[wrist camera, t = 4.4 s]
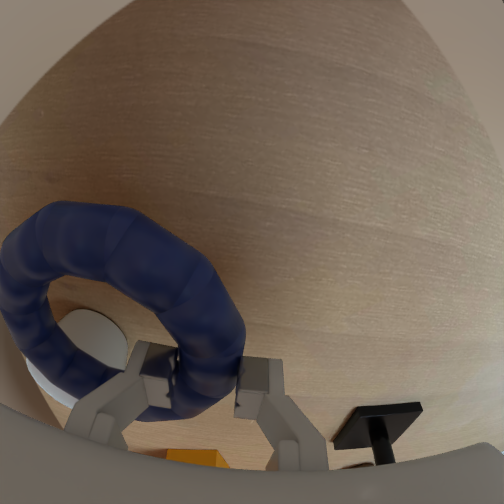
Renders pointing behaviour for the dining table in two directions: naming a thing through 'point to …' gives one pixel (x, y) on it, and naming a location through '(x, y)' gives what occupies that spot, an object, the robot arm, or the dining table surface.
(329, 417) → the dining table surface
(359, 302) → the dining table surface
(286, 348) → the dining table surface
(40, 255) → the ring
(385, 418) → the black post stand
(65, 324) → the candle
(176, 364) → the robot arm
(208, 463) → the orange juice
